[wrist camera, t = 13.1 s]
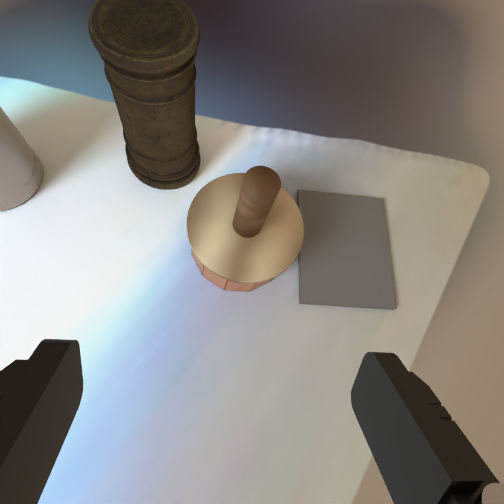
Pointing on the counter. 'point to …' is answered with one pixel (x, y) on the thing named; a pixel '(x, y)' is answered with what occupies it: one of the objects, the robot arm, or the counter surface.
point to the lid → (245, 226)
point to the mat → (344, 252)
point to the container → (152, 84)
